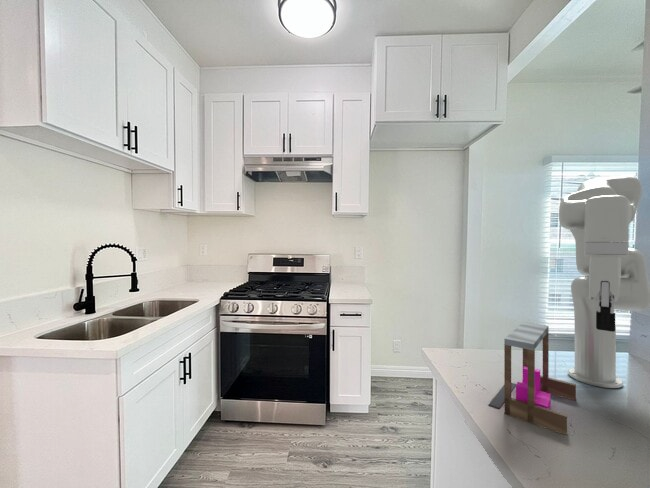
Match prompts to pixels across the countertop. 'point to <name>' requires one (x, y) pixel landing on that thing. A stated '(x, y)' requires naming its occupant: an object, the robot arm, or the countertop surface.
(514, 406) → the tunnel
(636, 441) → the countertop surface
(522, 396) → the toy block
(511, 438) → the countertop surface
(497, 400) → the dark grey flat bar
